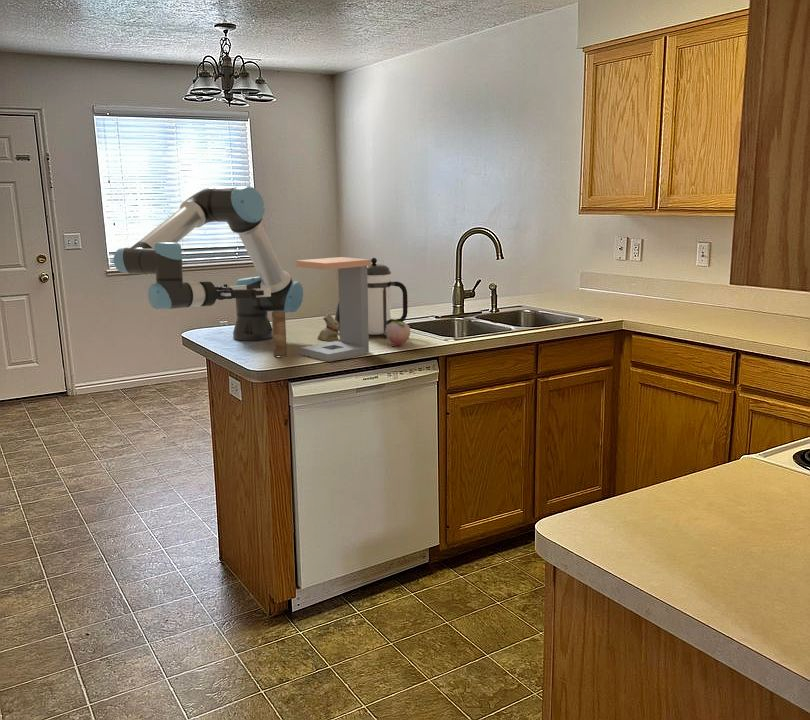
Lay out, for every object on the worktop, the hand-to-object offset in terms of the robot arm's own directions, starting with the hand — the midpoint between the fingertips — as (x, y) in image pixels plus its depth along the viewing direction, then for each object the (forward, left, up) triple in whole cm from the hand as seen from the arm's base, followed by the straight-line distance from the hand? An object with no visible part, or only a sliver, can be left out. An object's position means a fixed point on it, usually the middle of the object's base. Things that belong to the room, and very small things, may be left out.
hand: (257, 290), depth 242 cm
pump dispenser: (-18, +52, -23) cm, 60 cm away
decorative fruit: (+16, +48, -23) cm, 55 cm away
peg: (0, +8, -23) cm, 24 cm away
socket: (+11, +23, -23) cm, 34 cm away
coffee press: (-4, +56, -23) cm, 60 cm away
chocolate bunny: (-12, +38, -23) cm, 46 cm away
